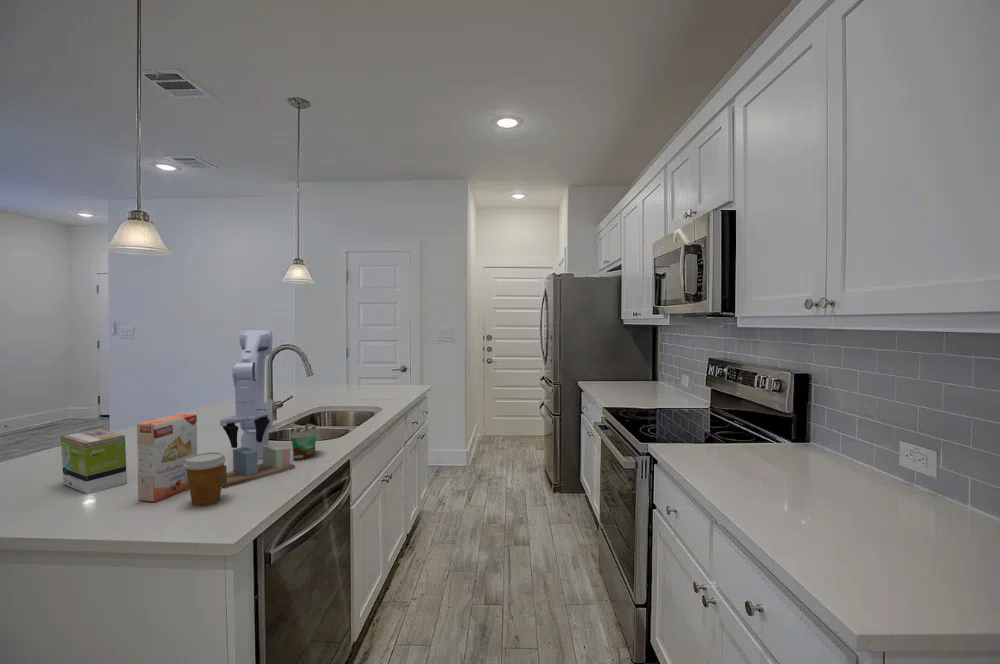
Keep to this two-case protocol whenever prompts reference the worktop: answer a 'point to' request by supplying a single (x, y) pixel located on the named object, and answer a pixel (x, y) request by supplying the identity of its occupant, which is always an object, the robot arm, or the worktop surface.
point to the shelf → (263, 471)
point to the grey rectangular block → (245, 461)
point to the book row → (276, 456)
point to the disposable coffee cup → (205, 477)
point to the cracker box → (164, 455)
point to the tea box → (93, 460)
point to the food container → (304, 442)
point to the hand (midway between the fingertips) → (247, 444)
